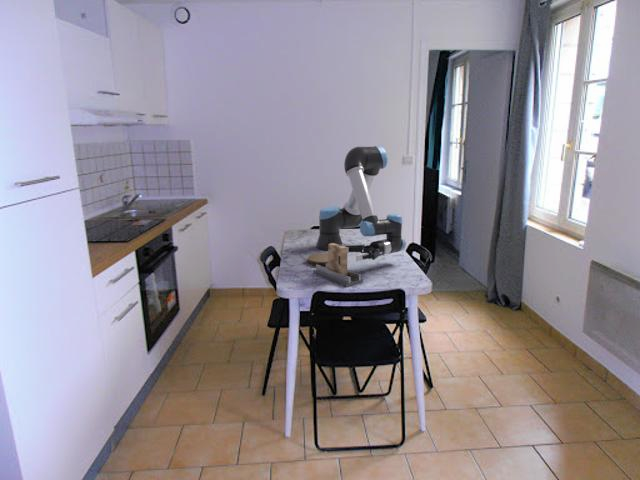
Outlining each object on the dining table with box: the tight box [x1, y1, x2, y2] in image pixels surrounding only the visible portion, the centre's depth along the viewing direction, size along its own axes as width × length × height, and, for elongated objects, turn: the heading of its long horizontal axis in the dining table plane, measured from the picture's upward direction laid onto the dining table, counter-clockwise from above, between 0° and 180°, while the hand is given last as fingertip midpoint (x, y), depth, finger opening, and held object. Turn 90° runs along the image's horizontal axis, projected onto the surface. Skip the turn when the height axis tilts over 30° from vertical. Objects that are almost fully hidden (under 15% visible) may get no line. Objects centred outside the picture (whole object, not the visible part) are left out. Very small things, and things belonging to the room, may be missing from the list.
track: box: [312, 263, 364, 288], centre depth 208 cm, size 24×10×4 cm, turn 37°
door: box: [327, 243, 348, 276], centre depth 206 cm, size 10×3×14 cm, turn 38°
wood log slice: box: [306, 252, 328, 268], centre depth 232 cm, size 16×16×3 cm
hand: (346, 255), depth 209 cm, fingers open, 13 cm apart
